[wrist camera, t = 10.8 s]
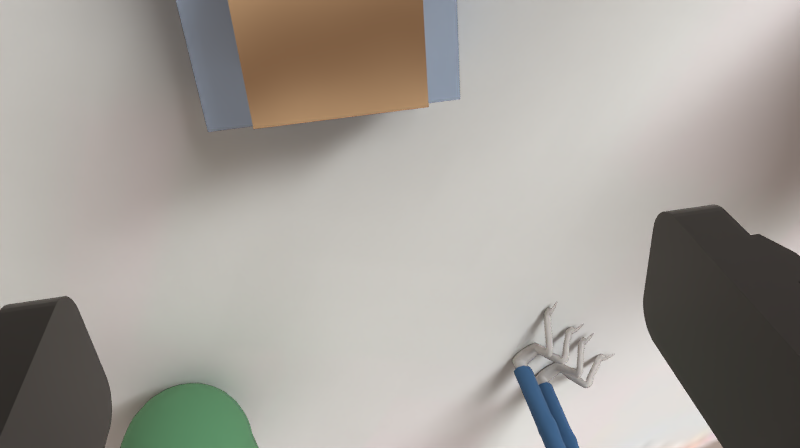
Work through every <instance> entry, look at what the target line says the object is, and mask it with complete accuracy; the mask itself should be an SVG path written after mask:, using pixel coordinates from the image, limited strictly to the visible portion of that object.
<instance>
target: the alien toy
mask: <svg viewBox="0 0 800 448" xmlns="http://www.w3.org/2000/svg"><path fill="white" fill-rule="evenodd" d="M120 448H258V446H257V443H256V441H255V439H254V436H253V434H252V431H251V427H250V424H249V421H248V419H247V417H246V415H245V413H244V412H243V410H242V409H241V407H240V406H239V405H238V403H237V402H236V401H235V400H234V399H233V398H232V397H230V396H229V395H228V394H227V393H225V392H224V391H222V390H220V389H218V388H216V387H213V386H210V385H206V384H202V383H188V384H181V385H177V386H174V387H171V388H168V389H166V390H164V391H162V392H161V393H159V394H158V395H156V396H154V397H153V398H151V399H150V400H149V401H148V402H147V403H146V404H145V405H144V406H143V407H142V408H141V410H140V411H139V412H138V413H137V414H136V415H135V417H134V418H133V420H132V421H131V423H130V425H129V427H128V429H127V431H126V434H125V436H124V439H123V441H122V444H121V447H120Z"/></svg>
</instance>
